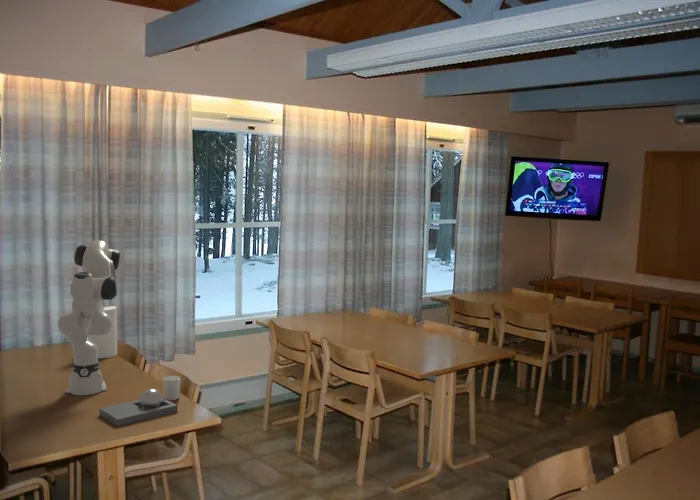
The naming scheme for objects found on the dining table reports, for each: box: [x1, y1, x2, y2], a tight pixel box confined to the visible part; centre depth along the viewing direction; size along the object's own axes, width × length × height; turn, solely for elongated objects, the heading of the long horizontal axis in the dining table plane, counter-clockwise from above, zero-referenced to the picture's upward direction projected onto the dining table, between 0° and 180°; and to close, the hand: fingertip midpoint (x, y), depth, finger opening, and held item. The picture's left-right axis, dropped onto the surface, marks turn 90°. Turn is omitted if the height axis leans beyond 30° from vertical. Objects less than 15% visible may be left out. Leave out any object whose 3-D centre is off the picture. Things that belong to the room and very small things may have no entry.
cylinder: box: [87, 305, 118, 359], centre depth 396 cm, size 17×17×28 cm
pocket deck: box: [99, 397, 178, 427], centre depth 300 cm, size 28×18×3 cm, turn 134°
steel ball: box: [139, 388, 164, 410], centre depth 303 cm, size 10×10×10 cm
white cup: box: [163, 375, 181, 401], centre depth 321 cm, size 8×8×10 cm
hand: (84, 342), depth 289 cm, fingers closed
